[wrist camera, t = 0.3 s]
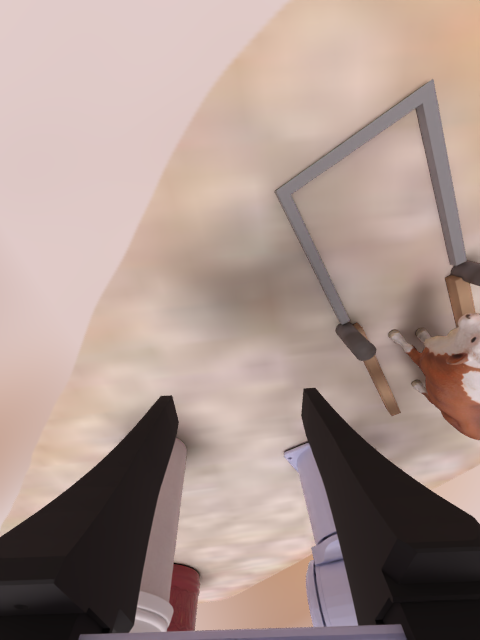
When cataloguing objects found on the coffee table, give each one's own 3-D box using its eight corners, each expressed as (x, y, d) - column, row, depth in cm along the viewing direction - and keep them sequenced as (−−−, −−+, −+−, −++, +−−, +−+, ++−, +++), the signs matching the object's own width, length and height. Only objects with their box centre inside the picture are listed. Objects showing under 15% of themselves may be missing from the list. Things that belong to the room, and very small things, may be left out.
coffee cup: (198, 426, 27) (160, 639, 14) (198, 473, 31) (169, 671, 18) (119, 422, 27) (-3, 639, 13) (129, 470, 31) (45, 672, 17)
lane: (460, 259, 19) (466, 260, 18) (339, 321, 21) (342, 324, 20) (425, 84, 14) (433, 78, 13) (274, 191, 16) (275, 190, 16)
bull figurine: (424, 281, 19) (538, 322, 12) (447, 382, 24) (537, 454, 17) (375, 304, 20) (453, 356, 13) (407, 397, 25) (476, 472, 18)
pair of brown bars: (489, 367, 24) (534, 395, 20) (377, 412, 26) (399, 444, 23) (469, 256, 18) (525, 267, 15) (333, 327, 21) (353, 350, 18)
